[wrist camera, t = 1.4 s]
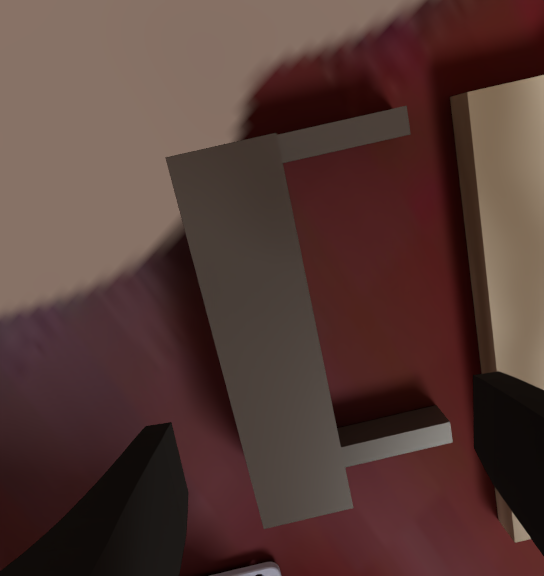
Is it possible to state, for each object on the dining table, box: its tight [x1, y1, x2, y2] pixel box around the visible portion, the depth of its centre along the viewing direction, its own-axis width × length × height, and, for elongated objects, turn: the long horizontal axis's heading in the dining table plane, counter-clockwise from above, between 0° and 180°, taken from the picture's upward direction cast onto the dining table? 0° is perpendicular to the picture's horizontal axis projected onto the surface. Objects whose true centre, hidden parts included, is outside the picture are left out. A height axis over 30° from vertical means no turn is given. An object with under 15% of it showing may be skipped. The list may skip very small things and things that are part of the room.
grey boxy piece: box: [166, 106, 453, 529], centre depth 19 cm, size 8×14×4 cm, turn 12°
